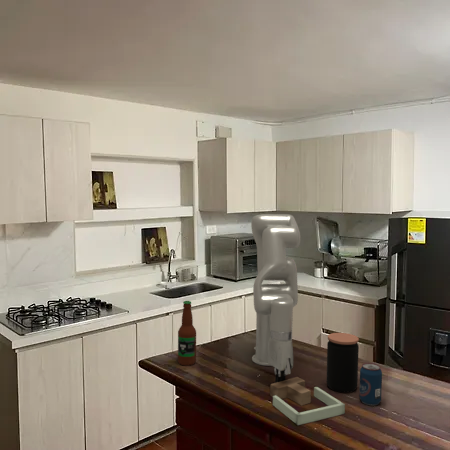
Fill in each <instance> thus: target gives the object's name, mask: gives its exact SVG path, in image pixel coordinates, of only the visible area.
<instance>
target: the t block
mask: <svg viewBox="0 0 450 450" xmlns="http://www.w3.org/2000/svg"><path fill="white" fill-rule="evenodd" d="M269 390H270V391H269V393H270V394H269V395H270V397H271V398H273V396H275V395H276V396H278V397H279V398H280V399H282V400H284V399H287V398H288V399H289V400H291V401H293V402H294V403H296V404H297V405H300V406H304V405H307V404H311V401H312V399H311V397H312V396H311V395H312V391H311V389H308V388H307V387H306V380H304V379H303V378H301V377H298V376H296V377H291V378H288V379H286V380H284V381H280V382H277V383H275V382H274V383H271V384H270V389H269Z"/></svg>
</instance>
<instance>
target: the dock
mask: <svg viewBox="0 0 450 450" xmlns="http://www.w3.org/2000/svg"><path fill="white" fill-rule="evenodd" d="M313 397H315V398H316V399H318V400H319V401H321V402H323V404H325V405H326V406H321V407H319V408H314V409H310V410H306V411H305V410H304V411H301V412H298V410H296V409H295V408H294V407H292V406H291V405H289V404H288V403H287V402H285V401H284V399H280V398H279V397H278V396H276V395H275V396H273V397H272V406H273V407H274V408H276V409H277V410H278V411H279V412H281V414H283V415H284V416H285V417H287V418H289V420H291V421H292V422H293V423H294V424H295V425H297V426H302V425H304V424H309V423H313V422H317V421H320V420H325V419H328V418H333V417H338V416H341V415H344V414H345V412H346V411H345V410H346V404H345V403H343V401H342V402H341V400H339V399H337V398H335V397H334V396H332V395H331V394H329V393H327V392H326V391H325V390H323V389H322V388H320V387H318V386H315V387H313Z"/></svg>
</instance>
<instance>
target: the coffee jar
mask: <svg viewBox="0 0 450 450" xmlns="http://www.w3.org/2000/svg"><path fill="white" fill-rule="evenodd" d="M359 339H360V338H359V337H358V336H357V335H355V334H351V333H347V332H333V333H330V334H328V335H327V340H328V342H327V349H326V352H327V353H326V384H327V387H328V388H329V389H330V390H332V391H335V392H337V393H345V394H348V393H352V392H354V391H355V390H356V389H357V388H358V385H359V381H358V378H359Z"/></svg>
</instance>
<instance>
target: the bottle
mask: <svg viewBox="0 0 450 450" xmlns="http://www.w3.org/2000/svg"><path fill="white" fill-rule="evenodd" d="M182 303H183V305H182V307H183V309H182V314H181V324H180V327H179V328H178V330H177V363H178V364H179V365H180V366H187V367H188V366H192V365H194V364H196V361H197V330H196V328H195V326H194V324H193V322H194V321H193V320H194V319H193V313H192V301H190V300H185V301H183V302H182Z"/></svg>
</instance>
